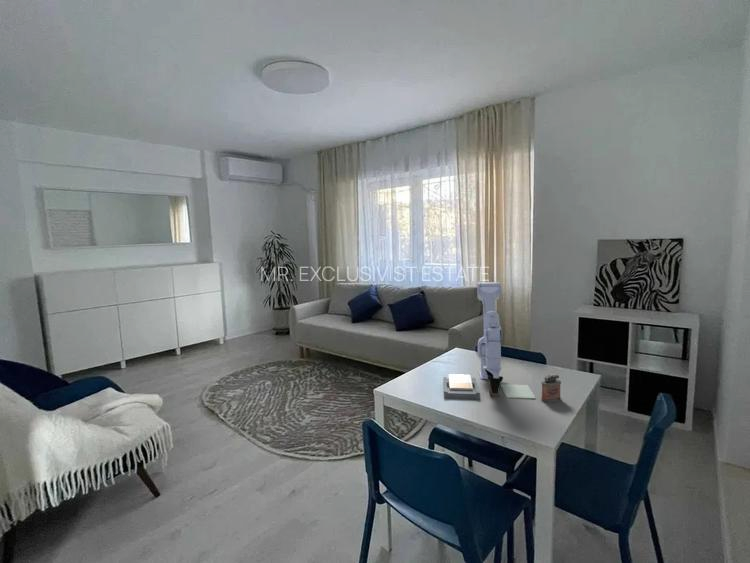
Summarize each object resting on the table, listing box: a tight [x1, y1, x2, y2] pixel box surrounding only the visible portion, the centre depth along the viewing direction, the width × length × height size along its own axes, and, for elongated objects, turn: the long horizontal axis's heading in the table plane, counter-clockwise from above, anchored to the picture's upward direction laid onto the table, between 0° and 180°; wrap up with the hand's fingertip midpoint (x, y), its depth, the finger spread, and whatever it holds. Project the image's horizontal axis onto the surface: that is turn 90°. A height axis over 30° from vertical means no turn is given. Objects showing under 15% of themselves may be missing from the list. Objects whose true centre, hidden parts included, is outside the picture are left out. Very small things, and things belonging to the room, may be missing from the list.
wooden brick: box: [488, 380, 499, 397], centre depth 150 cm, size 3×3×7 cm
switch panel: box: [442, 376, 481, 400], centre depth 155 cm, size 16×14×4 cm
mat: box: [500, 383, 537, 400], centre depth 152 cm, size 13×11×1 cm
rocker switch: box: [448, 373, 473, 390], centre depth 155 cm, size 10×9×1 cm
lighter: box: [541, 373, 562, 404], centre depth 143 cm, size 8×3×10 cm, turn 105°
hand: (493, 389), depth 150 cm, fingers open, 7 cm apart
